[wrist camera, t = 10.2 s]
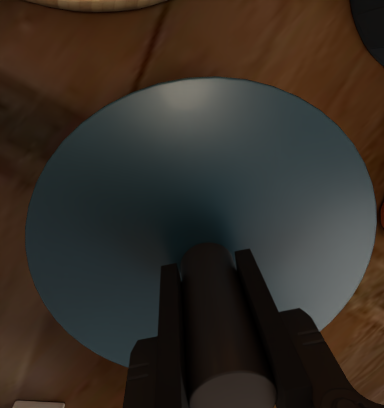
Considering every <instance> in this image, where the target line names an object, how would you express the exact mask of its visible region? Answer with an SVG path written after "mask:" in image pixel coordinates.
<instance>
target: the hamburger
mask: <svg viewBox="0 0 384 408" xmlns="http://www.w3.org/2000/svg"><path fill="white" fill-rule="evenodd" d="M381 225H382V227H383V228H384V203H383V205H382V208H381Z"/></svg>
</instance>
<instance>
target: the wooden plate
mask: <svg viewBox="0 0 384 408" xmlns="http://www.w3.org/2000/svg"><path fill="white" fill-rule="evenodd" d="M25 1H28V2H32V3H36V4H39V5H43V6H47V7H53V8H60V9H66V10H72V11H84V12H109V11H123V10H133V9H140V8H144V7H148V6H151V5H154V4H157V3H160V2H163V1H166V0H25Z"/></svg>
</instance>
